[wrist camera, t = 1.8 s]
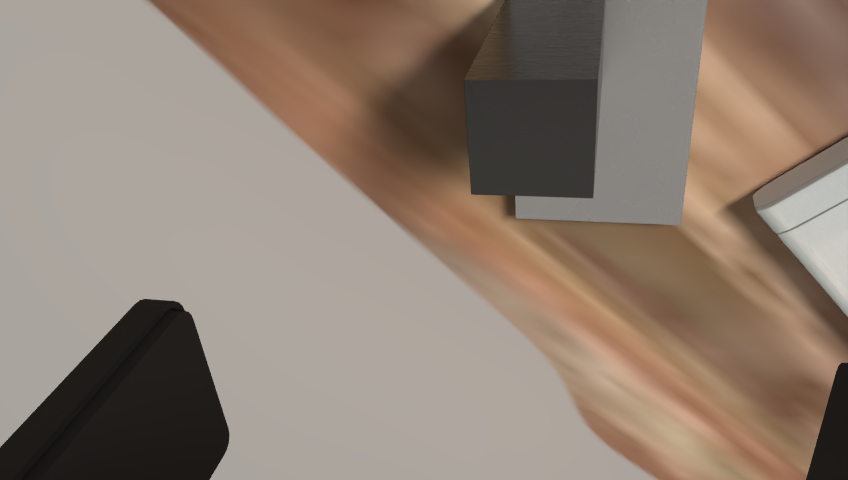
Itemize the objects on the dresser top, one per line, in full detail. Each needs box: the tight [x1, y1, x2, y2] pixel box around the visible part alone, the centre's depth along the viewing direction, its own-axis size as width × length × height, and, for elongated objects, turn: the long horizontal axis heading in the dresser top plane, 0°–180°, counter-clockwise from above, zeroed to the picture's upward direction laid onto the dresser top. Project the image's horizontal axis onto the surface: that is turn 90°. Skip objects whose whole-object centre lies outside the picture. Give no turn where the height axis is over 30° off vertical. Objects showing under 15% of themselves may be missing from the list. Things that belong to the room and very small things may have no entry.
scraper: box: [464, 0, 707, 225], centre depth 20 cm, size 6×14×9 cm, turn 6°
